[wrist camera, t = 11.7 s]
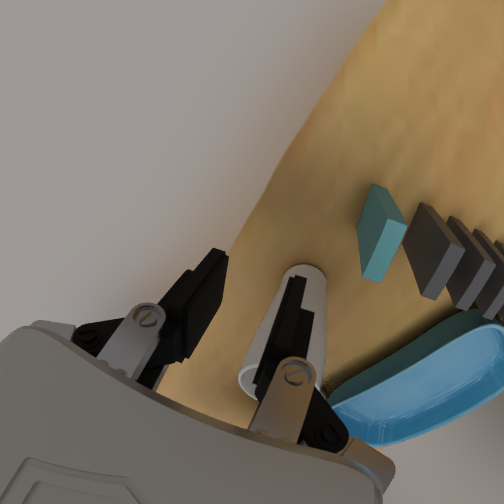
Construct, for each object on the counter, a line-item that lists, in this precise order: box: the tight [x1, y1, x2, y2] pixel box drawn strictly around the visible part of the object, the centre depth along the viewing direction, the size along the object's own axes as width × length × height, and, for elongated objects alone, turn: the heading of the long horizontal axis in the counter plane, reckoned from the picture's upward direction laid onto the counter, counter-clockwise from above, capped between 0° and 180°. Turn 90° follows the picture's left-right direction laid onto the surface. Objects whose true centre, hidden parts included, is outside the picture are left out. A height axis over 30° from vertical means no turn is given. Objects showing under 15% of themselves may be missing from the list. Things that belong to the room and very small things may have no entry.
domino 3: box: [472, 229, 504, 320], centre depth 19 cm, size 2×5×9 cm, turn 170°
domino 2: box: [446, 216, 496, 311], centre depth 20 cm, size 2×5×9 cm, turn 170°
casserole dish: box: [327, 309, 504, 447], centre depth 31 cm, size 37×22×7 cm, turn 146°
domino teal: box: [357, 184, 408, 283], centre depth 21 cm, size 2×5×9 cm, turn 170°
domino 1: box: [402, 202, 465, 300], centre depth 21 cm, size 2×5×9 cm, turn 170°
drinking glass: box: [238, 264, 327, 401], centre depth 25 cm, size 7×7×15 cm
